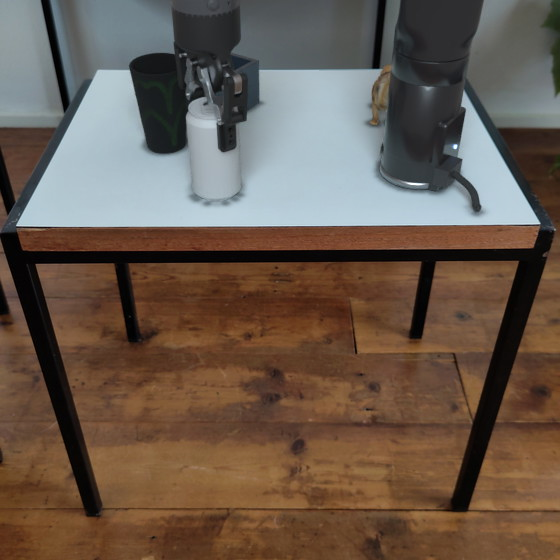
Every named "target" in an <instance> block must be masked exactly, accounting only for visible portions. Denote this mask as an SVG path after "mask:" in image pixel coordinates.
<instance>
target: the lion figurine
mask: <svg viewBox="0 0 560 560" xmlns="http://www.w3.org/2000/svg"><path fill="white" fill-rule="evenodd" d="M391 64H392V63H390V64H386V65H384V66H383V67H382V69H381V72H380V74H379V76H378V77H377V78H376V80H375V81H374V83H373V84H372V88H371V102H372V103H371V109H372V110H371V111H372V113H371V114H372V119H371V120H370V121H369V123H370V125H372V126H377V125H378V124H379V122H380V117H379V116H380V115H379V111H385V112H386V111H387V101H388V92H389V82H390V73H391Z"/></svg>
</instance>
